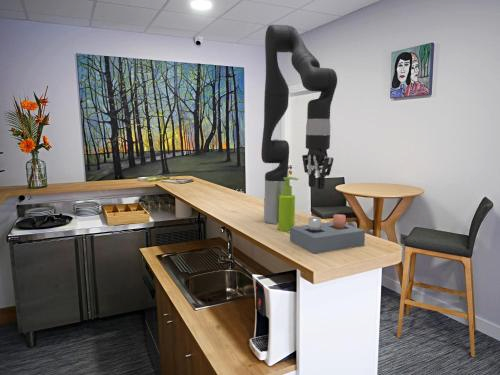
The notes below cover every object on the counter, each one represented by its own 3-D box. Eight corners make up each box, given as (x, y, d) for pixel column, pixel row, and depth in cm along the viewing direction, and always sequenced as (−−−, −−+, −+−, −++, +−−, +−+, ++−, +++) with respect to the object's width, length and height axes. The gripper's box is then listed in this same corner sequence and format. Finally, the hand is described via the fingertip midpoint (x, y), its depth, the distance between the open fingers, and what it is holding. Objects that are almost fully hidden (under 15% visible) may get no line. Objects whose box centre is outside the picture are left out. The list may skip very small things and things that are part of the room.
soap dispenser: (296, 232, 137) (297, 178, 134) (277, 231, 139) (278, 178, 136) (297, 228, 143) (298, 176, 140) (279, 227, 144) (280, 176, 141)
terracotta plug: (330, 229, 127) (331, 214, 126) (339, 227, 129) (340, 213, 128) (338, 232, 123) (338, 217, 122) (347, 230, 125) (348, 216, 124)
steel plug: (305, 232, 123) (306, 217, 122) (315, 231, 124) (316, 216, 124) (313, 235, 119) (313, 220, 118) (323, 234, 121) (323, 219, 120)
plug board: (289, 241, 126) (290, 227, 126) (337, 234, 135) (337, 221, 134) (313, 253, 114) (314, 237, 113) (364, 245, 122) (365, 230, 122)
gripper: (295, 133, 121) (294, 185, 124) (321, 134, 109) (319, 192, 111) (314, 133, 125) (312, 184, 127) (342, 134, 112) (339, 190, 115)
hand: (316, 187), depth 119 cm, fingers open, 4 cm apart
